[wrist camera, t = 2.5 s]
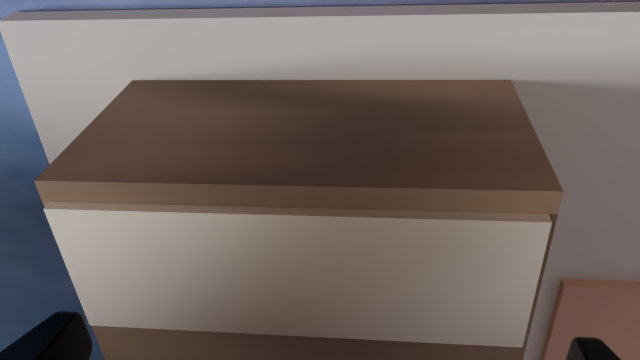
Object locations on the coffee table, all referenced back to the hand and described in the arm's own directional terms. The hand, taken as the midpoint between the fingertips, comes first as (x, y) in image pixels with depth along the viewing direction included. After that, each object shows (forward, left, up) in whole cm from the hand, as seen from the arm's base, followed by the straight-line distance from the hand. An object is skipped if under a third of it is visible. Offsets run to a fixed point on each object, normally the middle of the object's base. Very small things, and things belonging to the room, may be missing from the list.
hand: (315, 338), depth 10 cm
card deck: (0, 0, -1) cm, 1 cm away
